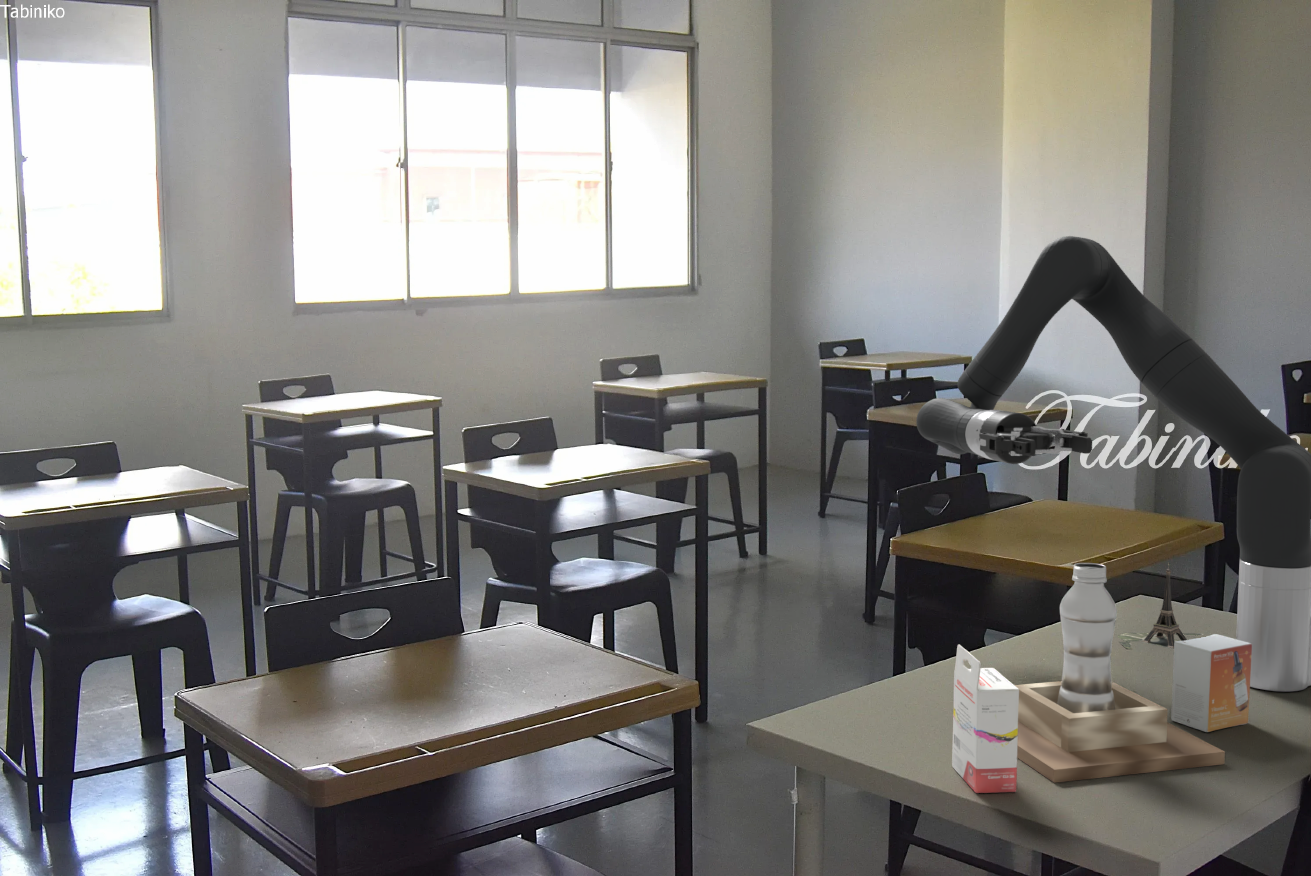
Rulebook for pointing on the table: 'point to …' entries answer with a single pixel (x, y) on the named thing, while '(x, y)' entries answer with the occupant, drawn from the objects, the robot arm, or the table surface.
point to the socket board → (1103, 737)
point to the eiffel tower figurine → (1160, 625)
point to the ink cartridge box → (984, 726)
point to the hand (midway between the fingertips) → (1061, 447)
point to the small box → (1211, 682)
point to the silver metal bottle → (1087, 641)
